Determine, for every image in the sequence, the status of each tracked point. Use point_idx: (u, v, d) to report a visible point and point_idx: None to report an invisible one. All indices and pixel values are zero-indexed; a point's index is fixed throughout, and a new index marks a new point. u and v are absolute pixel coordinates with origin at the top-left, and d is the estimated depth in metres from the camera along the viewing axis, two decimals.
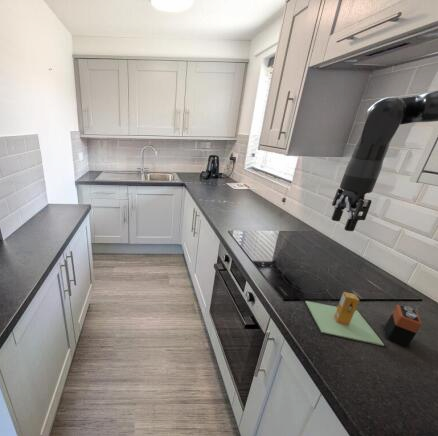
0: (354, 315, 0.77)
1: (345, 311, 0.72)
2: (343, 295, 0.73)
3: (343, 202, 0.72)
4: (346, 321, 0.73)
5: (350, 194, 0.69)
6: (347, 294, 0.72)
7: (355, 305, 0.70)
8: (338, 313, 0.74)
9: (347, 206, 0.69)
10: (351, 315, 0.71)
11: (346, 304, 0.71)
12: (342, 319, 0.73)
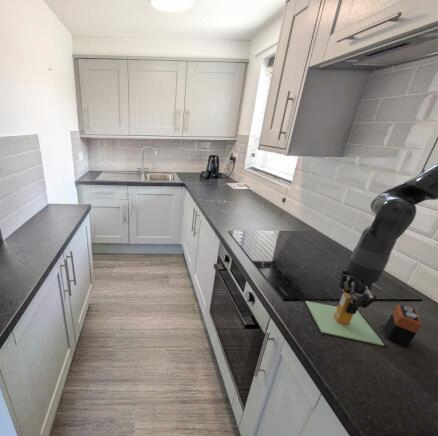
0: (354, 315, 0.77)
1: (346, 312, 0.72)
2: (343, 295, 0.72)
3: (349, 284, 0.71)
4: (346, 321, 0.73)
5: (357, 279, 0.68)
6: (347, 294, 0.71)
7: None
8: (338, 313, 0.74)
9: (351, 291, 0.69)
10: (351, 315, 0.71)
11: (346, 305, 0.71)
12: (342, 319, 0.73)
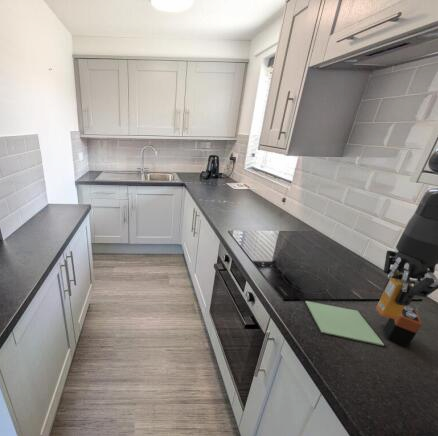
0: (354, 315, 0.77)
1: (394, 303, 0.56)
2: (391, 282, 0.57)
3: (400, 267, 0.55)
4: (394, 315, 0.57)
5: (412, 259, 0.53)
6: (397, 281, 0.56)
7: None
8: (383, 305, 0.58)
9: (404, 275, 0.53)
10: (402, 307, 0.56)
11: (396, 294, 0.55)
12: (389, 312, 0.57)
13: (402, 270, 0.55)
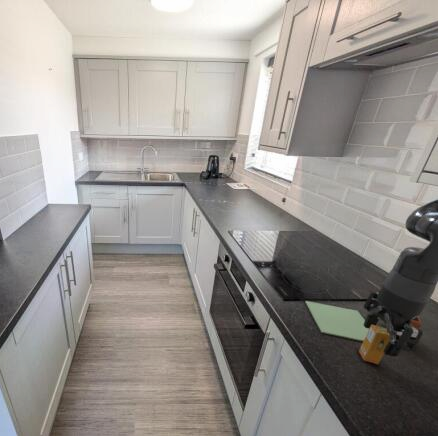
0: (354, 315, 0.77)
1: (375, 349, 0.60)
2: (371, 329, 0.61)
3: (381, 314, 0.59)
4: (375, 360, 0.61)
5: (391, 310, 0.56)
6: (377, 328, 0.60)
7: (387, 342, 0.59)
8: (365, 350, 0.62)
9: (388, 326, 0.56)
10: (382, 353, 0.60)
11: (376, 341, 0.60)
12: (370, 357, 0.61)
13: (380, 316, 0.59)
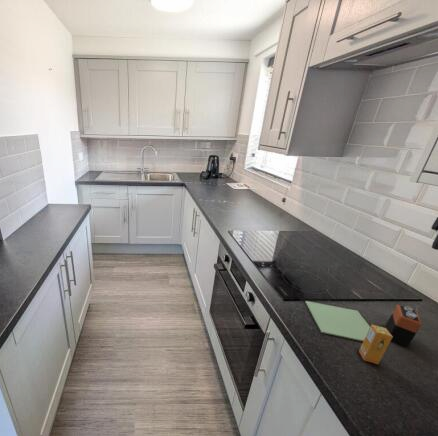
0: (354, 315, 0.77)
1: (375, 349, 0.60)
2: (371, 329, 0.61)
3: None
4: (375, 360, 0.61)
5: None
6: (377, 328, 0.60)
7: (387, 342, 0.59)
8: (365, 350, 0.62)
9: None
10: (382, 353, 0.60)
11: (376, 341, 0.60)
12: (370, 357, 0.61)
13: None
